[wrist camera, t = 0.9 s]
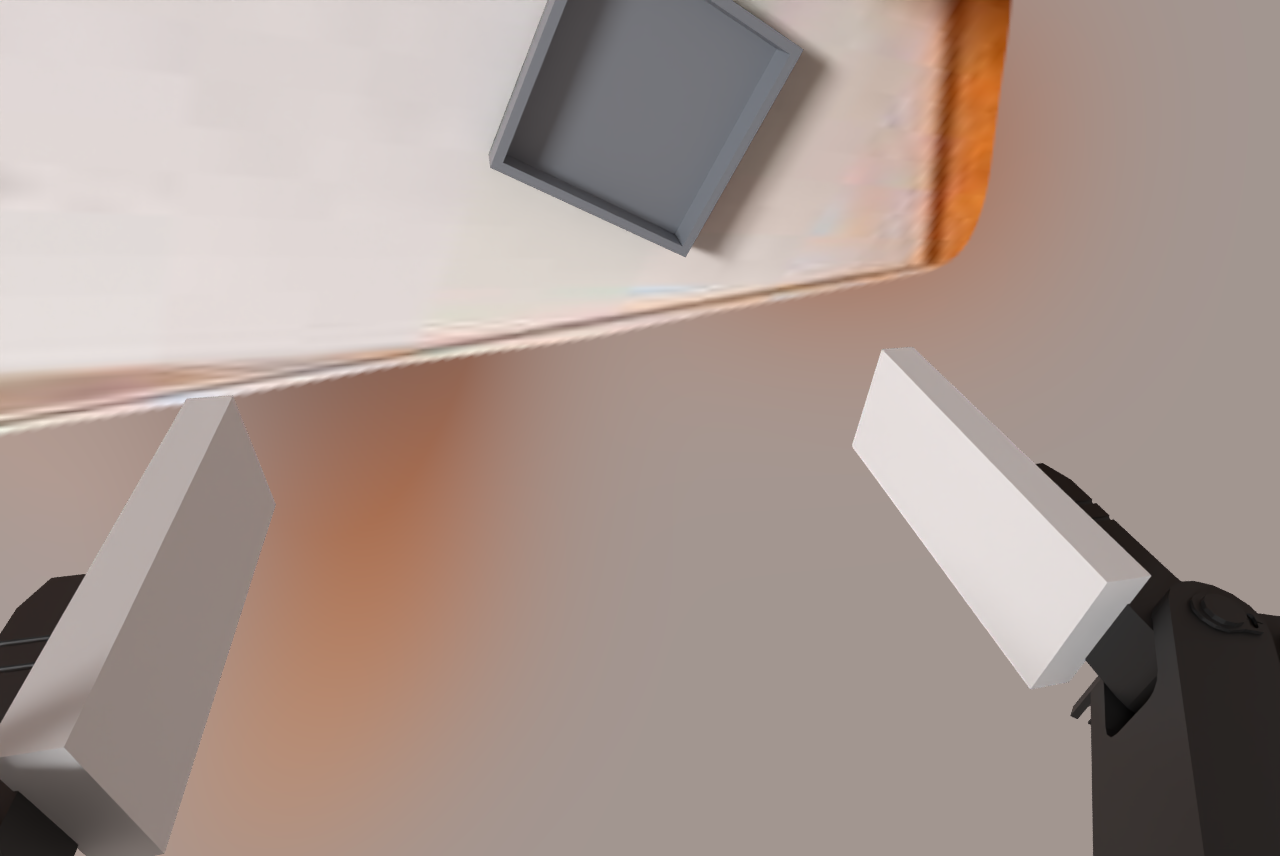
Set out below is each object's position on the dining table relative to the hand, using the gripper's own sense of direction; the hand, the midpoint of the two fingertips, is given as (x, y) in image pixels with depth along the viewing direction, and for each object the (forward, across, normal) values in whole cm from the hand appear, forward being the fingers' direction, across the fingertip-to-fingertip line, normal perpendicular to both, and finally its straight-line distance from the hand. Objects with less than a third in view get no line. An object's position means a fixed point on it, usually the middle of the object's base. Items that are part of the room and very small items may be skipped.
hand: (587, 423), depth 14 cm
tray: (+27, +7, +1) cm, 28 cm away
